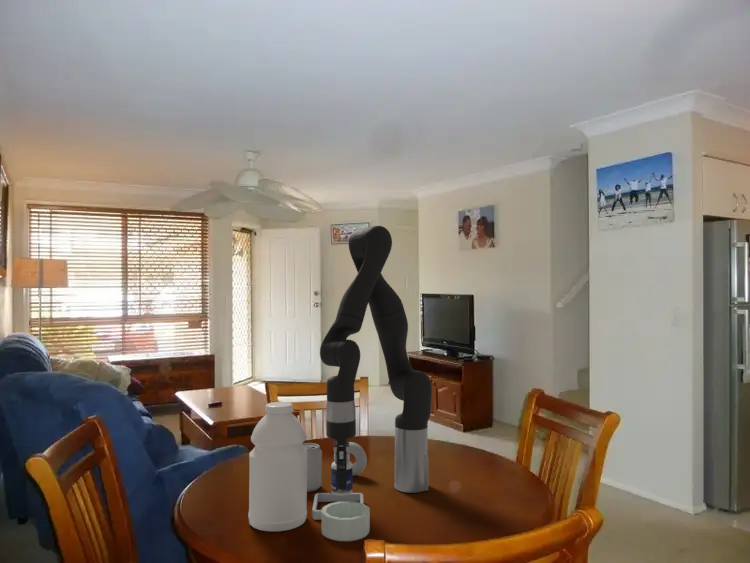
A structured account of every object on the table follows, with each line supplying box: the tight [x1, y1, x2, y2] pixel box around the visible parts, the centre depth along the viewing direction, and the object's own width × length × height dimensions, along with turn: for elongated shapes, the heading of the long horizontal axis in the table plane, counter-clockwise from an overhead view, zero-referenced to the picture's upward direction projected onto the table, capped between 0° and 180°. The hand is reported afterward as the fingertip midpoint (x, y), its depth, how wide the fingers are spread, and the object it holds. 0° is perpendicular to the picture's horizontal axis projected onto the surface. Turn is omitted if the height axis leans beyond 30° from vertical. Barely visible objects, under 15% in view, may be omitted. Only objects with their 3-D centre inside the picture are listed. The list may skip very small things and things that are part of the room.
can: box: [302, 442, 323, 493], centre depth 160 cm, size 8×8×12 cm
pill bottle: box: [330, 452, 354, 496], centre depth 144 cm, size 5×5×10 cm
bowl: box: [320, 501, 371, 542], centre depth 132 cm, size 11×11×5 cm
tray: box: [311, 492, 364, 521], centre depth 144 cm, size 13×13×2 cm
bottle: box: [247, 401, 308, 532], centre depth 137 cm, size 14×14×28 cm
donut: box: [348, 441, 368, 477], centre depth 172 cm, size 10×4×10 cm, turn 68°
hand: (342, 484), depth 144 cm, fingers closed on pill bottle, 5 cm apart
